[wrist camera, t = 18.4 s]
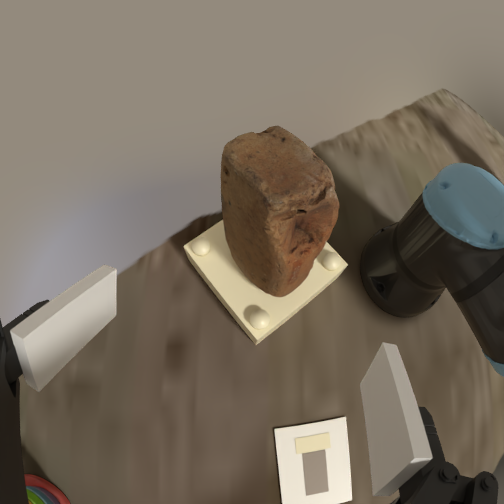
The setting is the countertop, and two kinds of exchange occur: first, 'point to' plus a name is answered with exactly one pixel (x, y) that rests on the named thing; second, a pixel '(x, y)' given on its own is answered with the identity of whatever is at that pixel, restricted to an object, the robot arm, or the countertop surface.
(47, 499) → the stacking bear
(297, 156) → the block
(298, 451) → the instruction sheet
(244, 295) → the cream knobbed square piece
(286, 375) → the countertop surface
